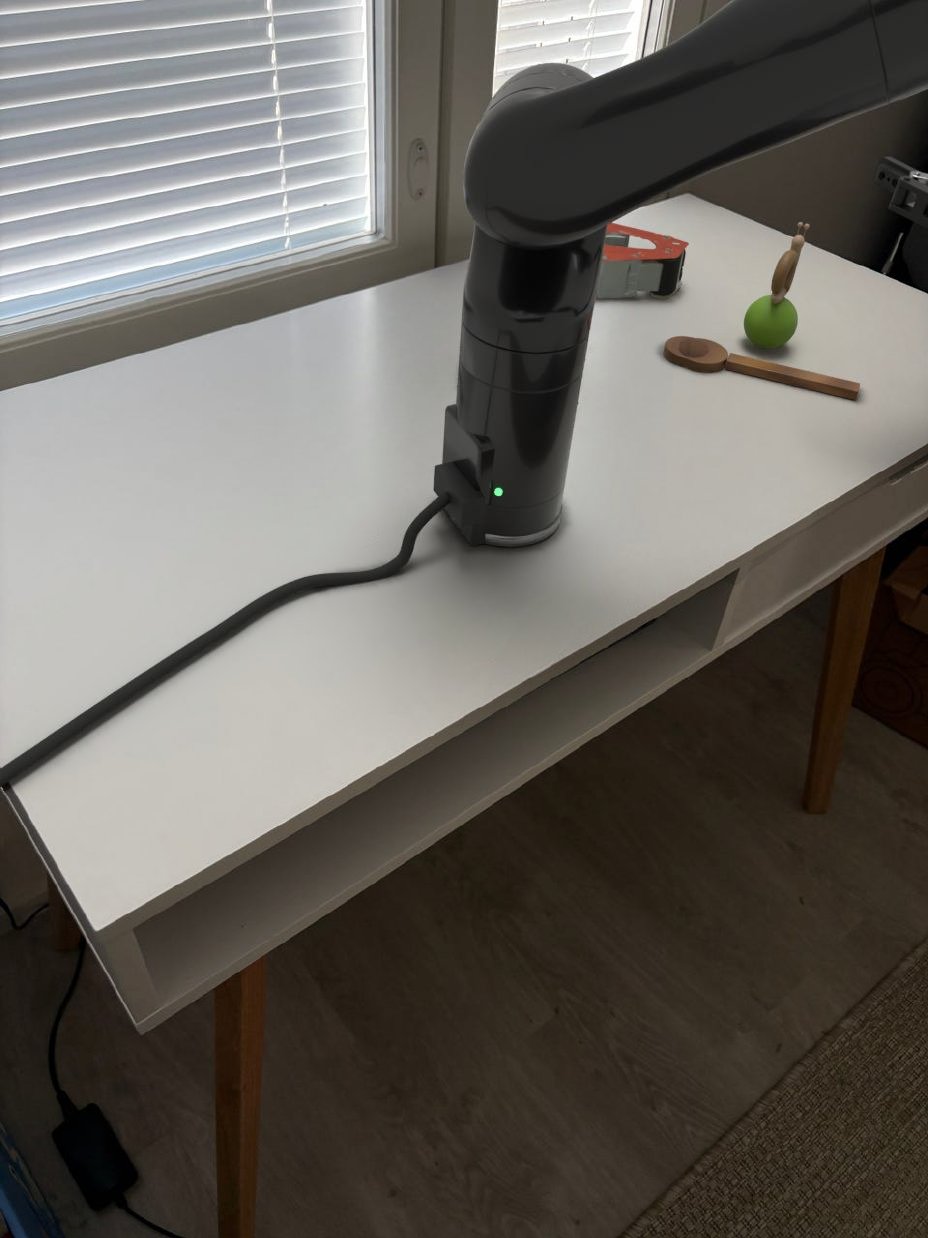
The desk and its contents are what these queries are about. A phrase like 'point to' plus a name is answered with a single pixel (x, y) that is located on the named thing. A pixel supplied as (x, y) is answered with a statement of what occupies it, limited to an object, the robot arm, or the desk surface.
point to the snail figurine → (776, 303)
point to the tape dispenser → (640, 264)
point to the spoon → (751, 366)
